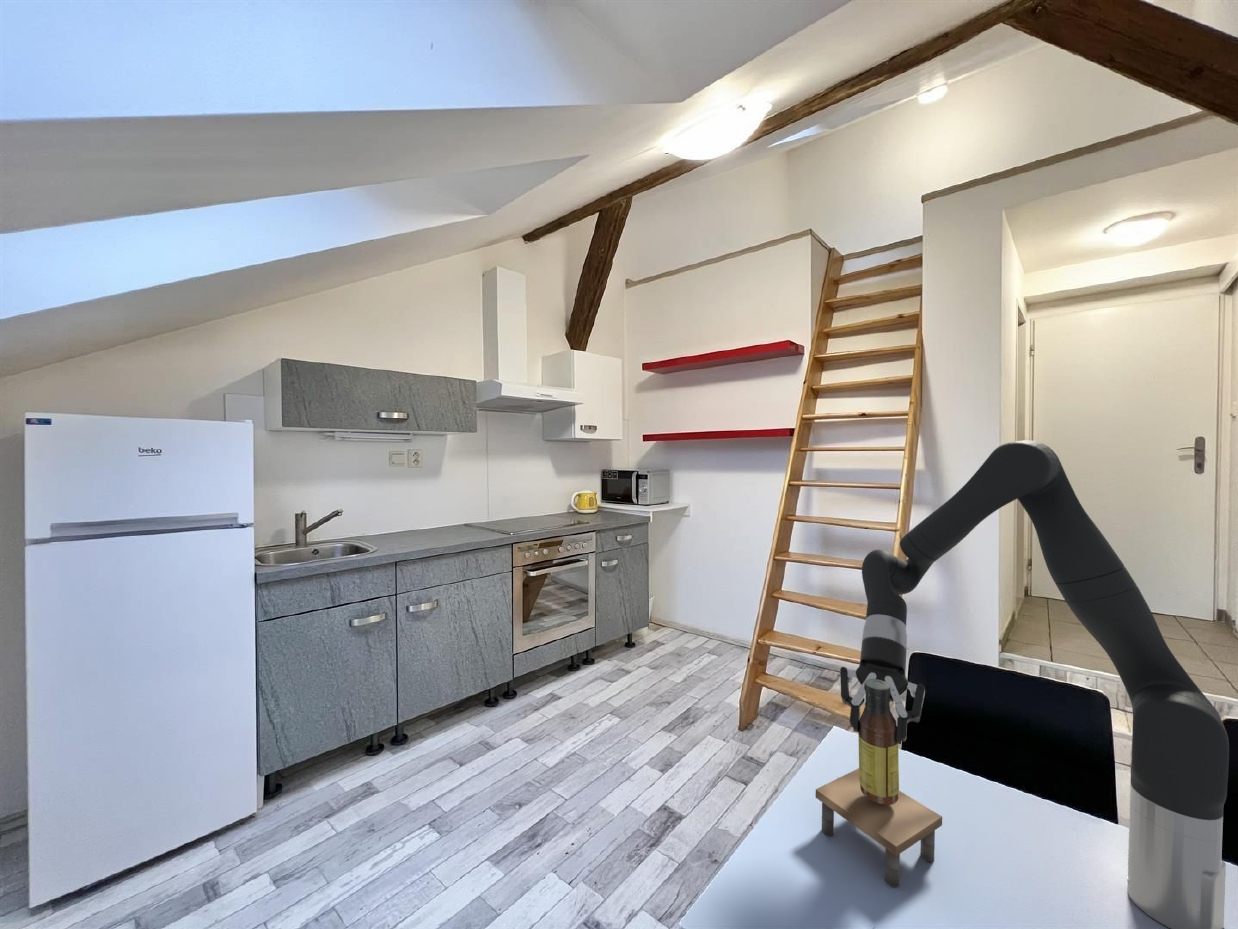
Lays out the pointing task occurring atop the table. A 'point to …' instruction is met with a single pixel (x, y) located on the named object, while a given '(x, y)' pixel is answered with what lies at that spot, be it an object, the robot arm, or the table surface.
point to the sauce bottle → (878, 746)
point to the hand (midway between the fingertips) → (877, 736)
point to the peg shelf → (880, 821)
